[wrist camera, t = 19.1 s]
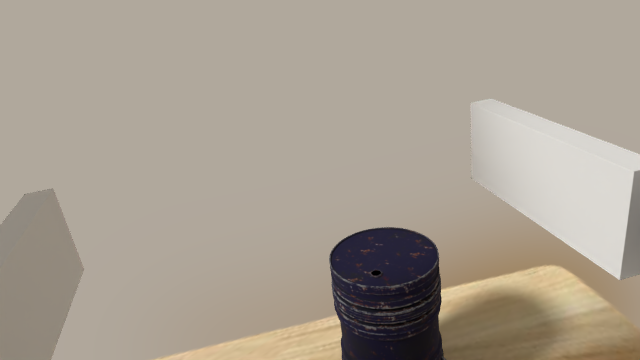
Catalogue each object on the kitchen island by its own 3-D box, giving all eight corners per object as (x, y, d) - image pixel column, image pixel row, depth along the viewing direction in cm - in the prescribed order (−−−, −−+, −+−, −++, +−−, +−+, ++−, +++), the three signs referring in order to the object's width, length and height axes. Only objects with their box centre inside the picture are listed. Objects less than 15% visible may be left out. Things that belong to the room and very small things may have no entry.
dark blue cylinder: (359, 340, 55) (345, 224, 50) (448, 351, 52) (445, 229, 46) (333, 412, 47) (312, 282, 41) (438, 431, 44) (432, 293, 38)
